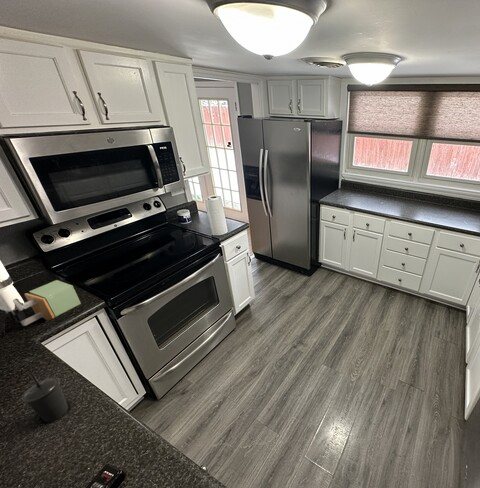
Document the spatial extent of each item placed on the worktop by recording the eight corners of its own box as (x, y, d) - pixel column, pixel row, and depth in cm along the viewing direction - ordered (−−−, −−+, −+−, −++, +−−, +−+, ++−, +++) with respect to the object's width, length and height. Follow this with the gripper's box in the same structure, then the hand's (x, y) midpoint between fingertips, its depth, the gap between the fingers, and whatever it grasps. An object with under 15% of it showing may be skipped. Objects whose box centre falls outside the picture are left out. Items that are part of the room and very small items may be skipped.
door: (35, 333, 112) (22, 309, 106) (17, 326, 115) (2, 303, 109) (57, 321, 119) (45, 298, 113) (39, 315, 122) (26, 292, 116)
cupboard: (57, 321, 119) (45, 297, 113) (41, 314, 123) (29, 291, 117) (82, 307, 127) (72, 285, 122) (67, 301, 131) (56, 279, 125)
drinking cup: (73, 424, 80) (44, 377, 72) (39, 438, 76) (4, 390, 68) (79, 403, 86) (53, 358, 78) (48, 415, 82) (17, 369, 74)
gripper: (-30, 285, 102) (-6, 322, 110) (-1, 292, 99) (22, 329, 107) (-4, 275, 108) (17, 310, 116) (24, 281, 105) (44, 317, 113)
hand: (19, 319), depth 111 cm, fingers closed on door, 2 cm apart
